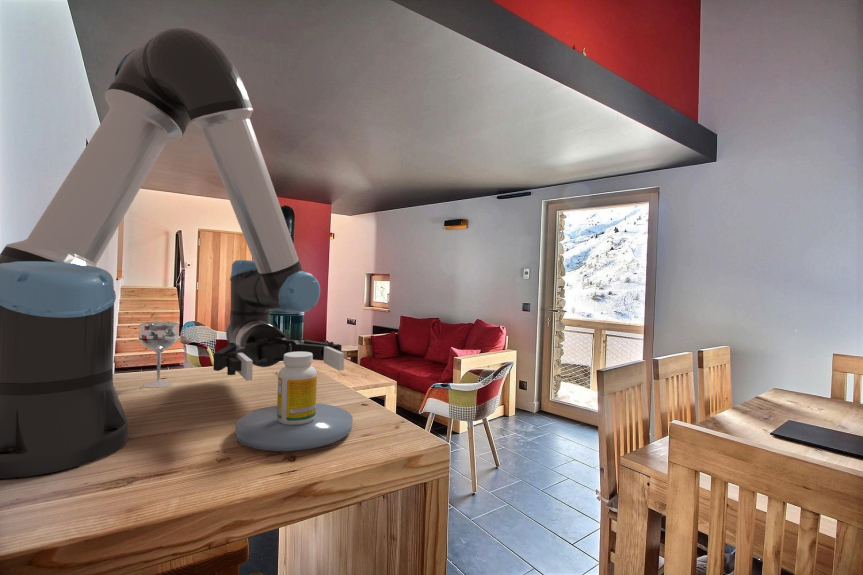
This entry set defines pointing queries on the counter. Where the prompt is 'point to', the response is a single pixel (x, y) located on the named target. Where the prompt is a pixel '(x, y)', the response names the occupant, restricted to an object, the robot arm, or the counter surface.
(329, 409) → the slate dish
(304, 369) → the supplement bottle
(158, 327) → the wineglass
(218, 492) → the counter surface
